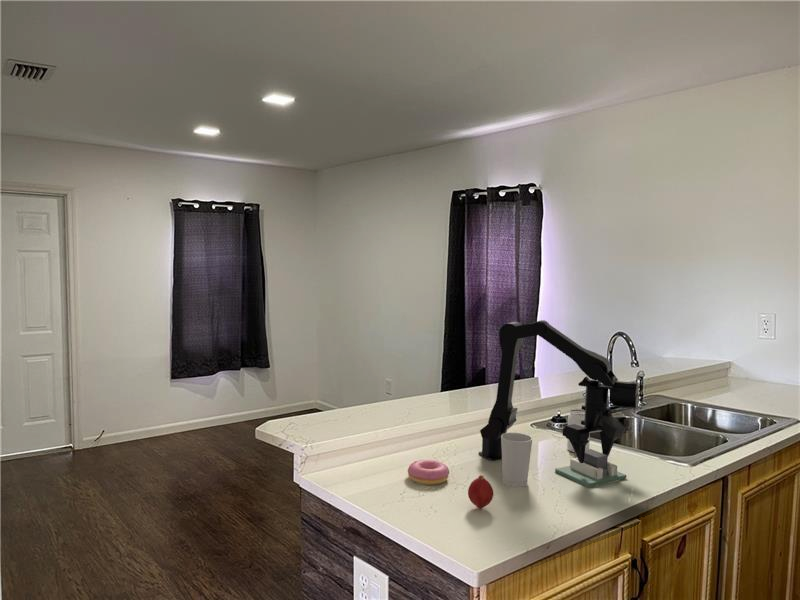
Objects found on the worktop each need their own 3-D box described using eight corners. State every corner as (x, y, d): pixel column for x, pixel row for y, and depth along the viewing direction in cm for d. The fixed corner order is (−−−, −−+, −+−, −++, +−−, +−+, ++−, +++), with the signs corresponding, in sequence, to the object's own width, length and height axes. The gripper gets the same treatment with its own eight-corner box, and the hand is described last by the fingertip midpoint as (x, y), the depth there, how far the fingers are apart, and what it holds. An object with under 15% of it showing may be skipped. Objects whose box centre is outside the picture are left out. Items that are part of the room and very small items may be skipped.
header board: (588, 487, 151) (589, 474, 151) (555, 472, 162) (555, 459, 161) (626, 478, 158) (627, 465, 158) (591, 464, 168) (592, 452, 168)
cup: (532, 479, 156) (534, 434, 155) (528, 490, 148) (530, 443, 148) (502, 475, 158) (503, 431, 158) (496, 485, 151) (498, 439, 150)
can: (590, 454, 177) (592, 415, 176) (567, 452, 178) (569, 413, 178) (587, 448, 183) (589, 410, 183) (566, 446, 185) (567, 408, 184)
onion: (465, 503, 139) (466, 470, 139) (489, 503, 140) (490, 470, 139) (470, 514, 134) (471, 479, 133) (495, 513, 134) (496, 479, 134)
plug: (599, 477, 156) (600, 458, 155) (579, 468, 162) (580, 450, 162) (609, 474, 158) (610, 456, 157) (589, 466, 164) (590, 448, 163)
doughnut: (401, 474, 158) (401, 459, 157) (438, 470, 162) (439, 455, 161) (416, 489, 148) (417, 473, 147) (456, 484, 152) (456, 468, 151)
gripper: (594, 414, 147) (591, 475, 148) (645, 407, 157) (641, 464, 158) (562, 404, 157) (559, 461, 158) (611, 397, 166) (608, 452, 167)
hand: (593, 460), depth 160 cm, fingers open, 9 cm apart
